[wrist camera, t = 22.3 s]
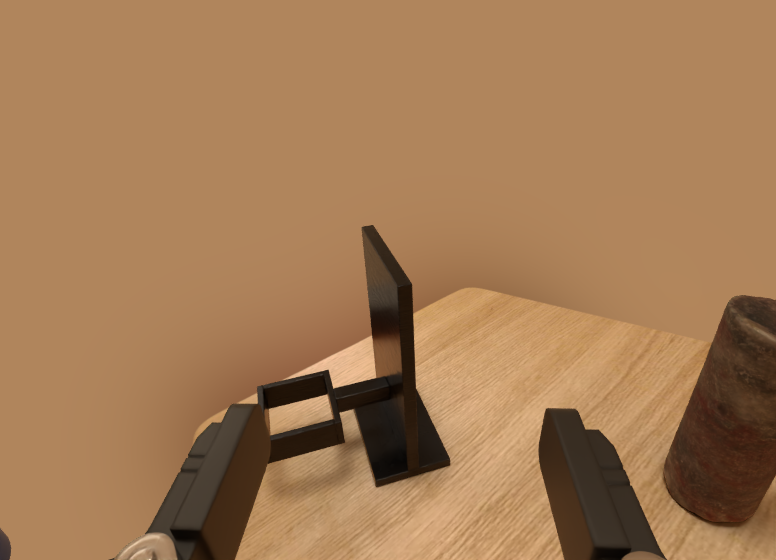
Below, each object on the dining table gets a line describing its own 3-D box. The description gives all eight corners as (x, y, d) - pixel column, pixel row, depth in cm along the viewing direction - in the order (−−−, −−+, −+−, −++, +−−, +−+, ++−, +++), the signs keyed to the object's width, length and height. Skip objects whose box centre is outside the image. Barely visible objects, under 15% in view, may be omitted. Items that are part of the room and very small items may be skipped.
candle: (658, 444, 46) (720, 283, 36) (743, 467, 43) (837, 299, 33) (663, 509, 40) (740, 338, 30) (762, 540, 37) (883, 363, 27)
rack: (277, 517, 42) (214, 324, 30) (271, 422, 52) (221, 250, 40) (450, 465, 45) (454, 275, 34) (412, 386, 55) (405, 219, 44)
